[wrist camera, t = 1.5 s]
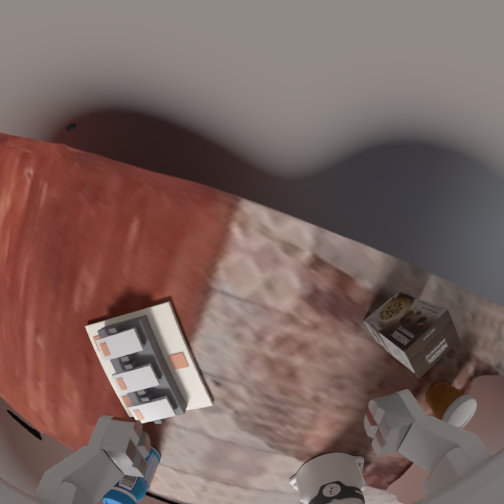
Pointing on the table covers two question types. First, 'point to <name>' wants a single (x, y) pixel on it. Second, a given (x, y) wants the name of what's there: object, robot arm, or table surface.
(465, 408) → the disposable coffee cup
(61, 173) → the table surface
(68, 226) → the table surface
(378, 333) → the coffee box
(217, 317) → the table surface
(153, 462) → the beverage bottle
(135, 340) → the rocker
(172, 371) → the switch unit
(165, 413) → the white rectangular block
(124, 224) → the table surface
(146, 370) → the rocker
